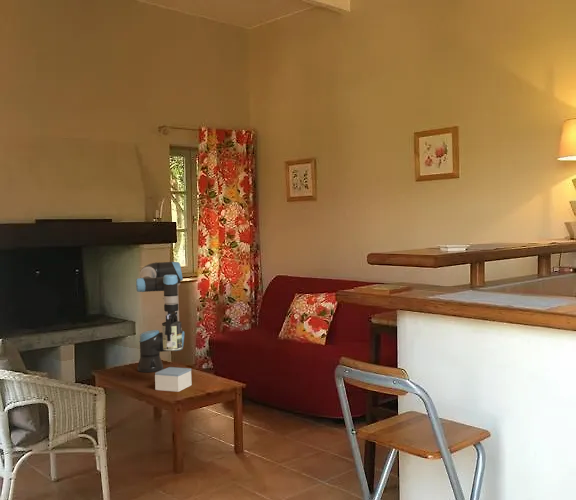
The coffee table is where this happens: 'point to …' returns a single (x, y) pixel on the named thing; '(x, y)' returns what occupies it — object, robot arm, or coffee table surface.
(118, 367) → the coffee table surface
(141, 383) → the coffee table surface
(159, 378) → the box
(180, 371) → the lid
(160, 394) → the coffee table surface
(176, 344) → the coffee can
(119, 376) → the coffee table surface
